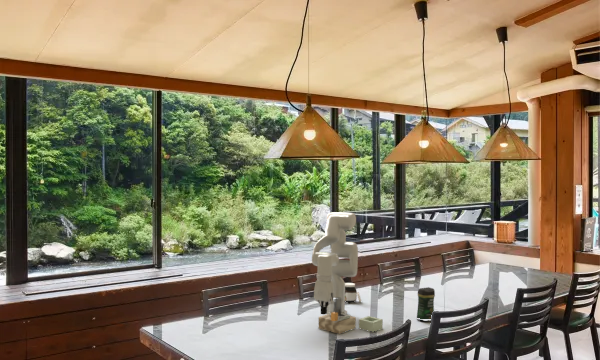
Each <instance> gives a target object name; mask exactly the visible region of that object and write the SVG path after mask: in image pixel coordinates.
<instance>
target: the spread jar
mask: <svg viewBox="0 0 600 360" xmlns="http://www.w3.org/2000/svg"><path fill="white" fill-rule="evenodd" d="M357 299H358V302H359V303H362V302H361V301H362V299H361V295H360V293H359V291H358V290H357V288H356V283H353V282H345V301H346V302H354V301H355V302H357ZM346 302H345V303H346ZM355 302H354V303H355Z"/></svg>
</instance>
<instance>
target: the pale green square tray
mask: <svg viewBox="0 0 600 360" xmlns="http://www.w3.org/2000/svg"><path fill="white" fill-rule="evenodd" d="M383 323H384V322H383V318H378V317H374V316H370V315H367V316H365V317H362V318H359V319H358V329H359V328H361V329H360V330H362V329H364V330H363V331H366V330H368V331H367V332H370V331H372V332H371V333H375V332H378V331H380V330H382V329H383V328H384V327H383ZM379 329H380V330H379ZM377 330H378V331H377ZM374 331H375V332H374Z"/></svg>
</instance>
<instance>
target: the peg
mask: <svg viewBox="0 0 600 360" xmlns="http://www.w3.org/2000/svg"><path fill="white" fill-rule="evenodd" d="M341 310H342V298H340V297H335V298H333V312H337V313H338V315H339V314H341Z"/></svg>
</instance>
